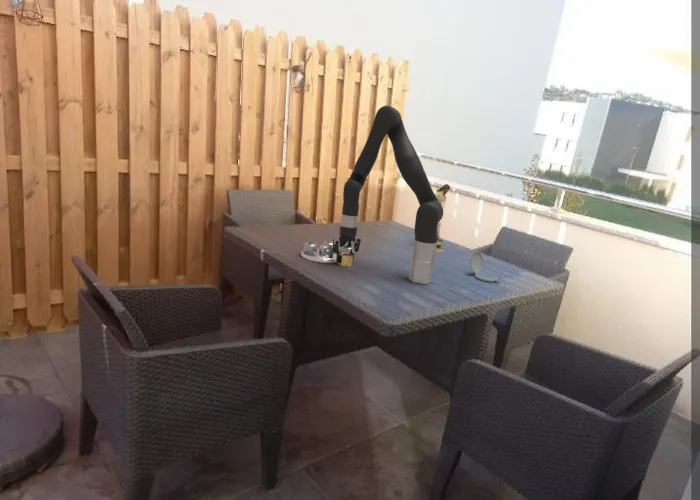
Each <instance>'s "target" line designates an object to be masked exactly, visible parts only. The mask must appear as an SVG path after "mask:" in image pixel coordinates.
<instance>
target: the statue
mask: <svg viewBox="0 0 700 500" xmlns="http://www.w3.org/2000/svg"><path fill="white" fill-rule="evenodd" d="M450 190H451V187H450V185H449V184H448V183H446V184H444V185H442V186H441V187H440V188H439V189H437V190H436V192H435V193H434V194H435V195H436V197H437V199H438V201H439V202H440V204H441V206H442V208H443V209H444V208H445V205H446V202H447V196H446V195H447V193H448V192H449V191H450ZM441 226H442V225H441V220H440V221H439V222H438V226H437V236H438V239H437V245H436V251H435V254H436V253H444V252H445V251H446V250H447V248H446V247H444V246H442V245H443V243H444V241H445V239H443V238H442V237H441V236H440V231H441V230H440V228H441ZM413 246H414V244H413V245H412V247H413ZM444 250H445V251H444Z"/></svg>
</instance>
